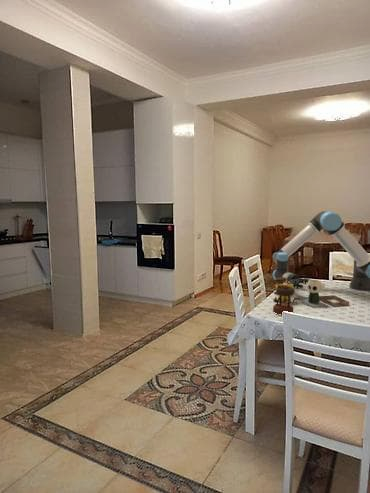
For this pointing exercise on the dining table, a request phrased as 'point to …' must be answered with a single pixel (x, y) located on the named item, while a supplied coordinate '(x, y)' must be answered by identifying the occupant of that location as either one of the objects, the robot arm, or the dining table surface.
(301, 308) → the dining table surface
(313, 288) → the character mug
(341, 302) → the brown rectangular slab
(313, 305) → the slate coaster
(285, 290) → the music box
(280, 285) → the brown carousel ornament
